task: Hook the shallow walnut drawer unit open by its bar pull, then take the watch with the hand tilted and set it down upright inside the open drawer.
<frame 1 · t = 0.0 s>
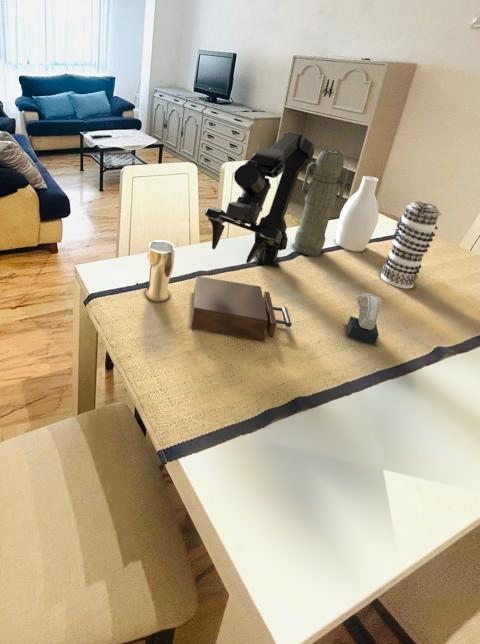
hand: (229, 255, 96), 15 cm above the table, tool tilted 35°, fingers open, 9 cm apart
thermos: (307, 250, 132), on the table
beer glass: (157, 295, 104), on the table
white and black cylinder: (396, 280, 117), on the table
watch: (360, 335, 93), on the table
cabinet: (225, 316, 97), on the table
drawer: (247, 309, 95), point 3 cm above the table, slide at 1.0 cm
bottle: (349, 246, 137), on the table
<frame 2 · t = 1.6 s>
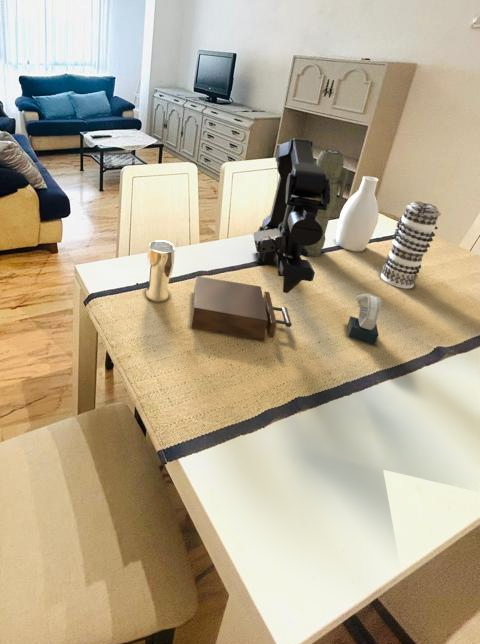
hand: (282, 283, 91), 12 cm above the table, tool pointing down, fingers open, 7 cm apart
nothing on the table moved.
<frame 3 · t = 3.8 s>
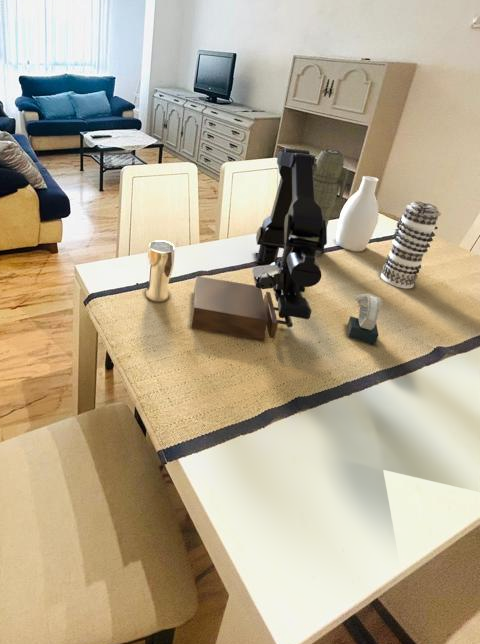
hand: (281, 317, 94), 3 cm above the table, tool pointing down, fingers closed
drawer: (248, 310, 95), point 3 cm above the table, slide at 1.3 cm, touching gripper
everything else where it was.
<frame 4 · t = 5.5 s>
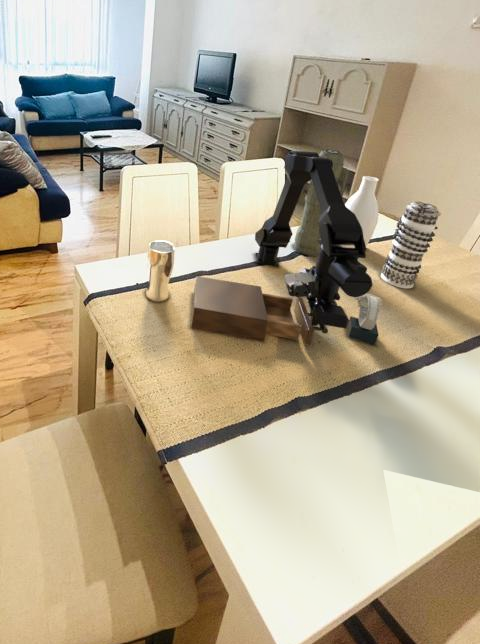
hand: (313, 324, 93), 2 cm above the table, tool pointing down, fingers closed, pressing on drawer
drawer: (281, 315, 94), point 3 cm above the table, slide at 9.0 cm, touching gripper
everything else where it was.
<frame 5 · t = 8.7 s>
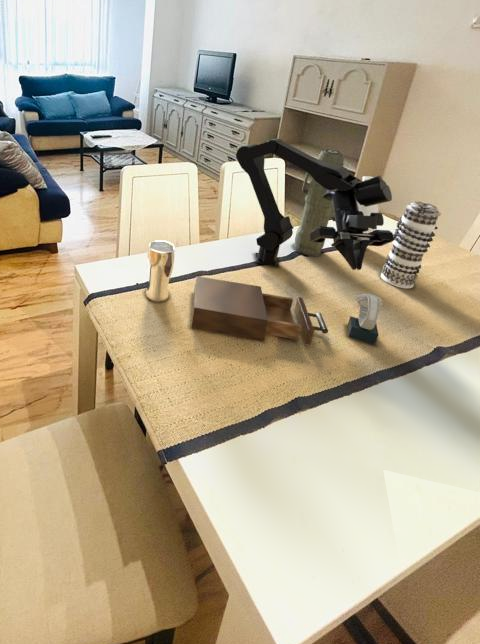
hand: (356, 269, 96), 13 cm above the table, tool tilted 45°, fingers closed
drawer: (281, 315, 94), point 3 cm above the table, slide at 9.1 cm
everything else where it was.
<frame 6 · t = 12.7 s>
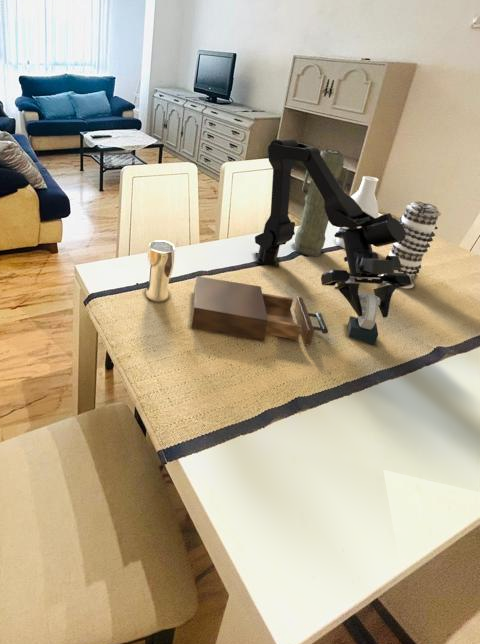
hand: (372, 316, 89), 7 cm above the table, tool tilted 45°, fingers closed on watch, 5 cm apart
watch: (360, 335, 93), on the table, touching gripper
everything else where it was.
when the fingers open (9 cm above the table, at t = 18.2 s): watch stays where it is, resting on drawer.
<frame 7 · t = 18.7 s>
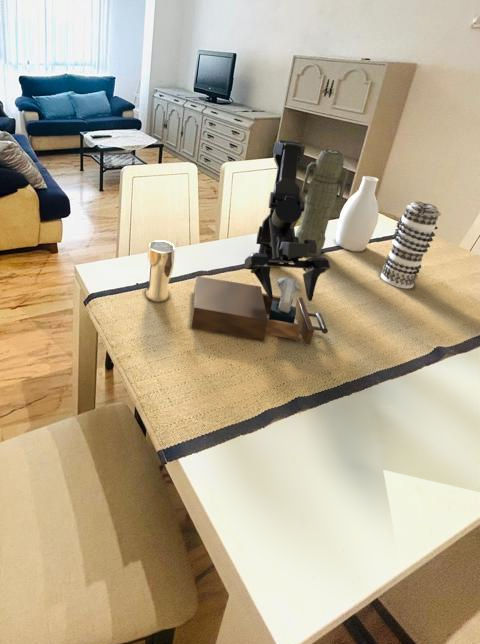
hand: (290, 299, 90), 9 cm above the table, tool tilted 45°, fingers open, 9 cm apart
watch: (280, 319, 95), point 2 cm above the table, touching drawer
drawer: (281, 315, 94), point 3 cm above the table, slide at 9.0 cm, touching watch
everything else where it was.
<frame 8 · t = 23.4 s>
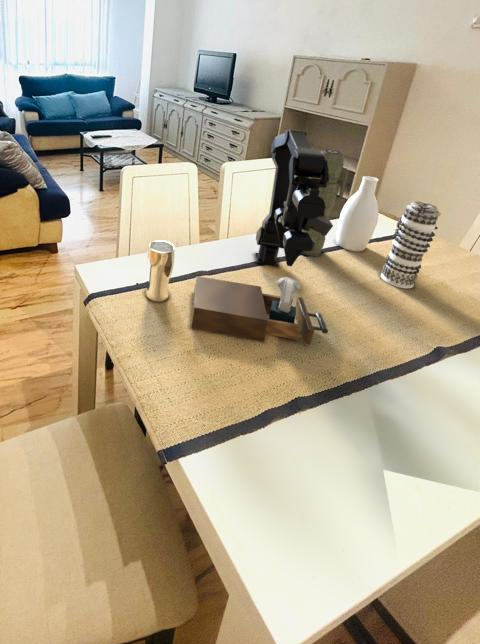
hand: (285, 256, 101), 13 cm above the table, tool pointing down, fingers open, 9 cm apart
nothing on the table moved.
at the end: drawer slide at 9.0 cm; watch inside the target area in the drawer (0.6 cm from its centre), point 1.8 cm above the cabinet's base; watch tilted 0° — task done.
